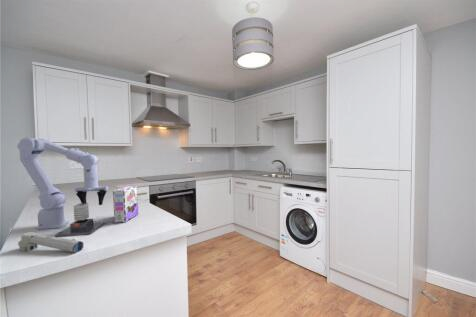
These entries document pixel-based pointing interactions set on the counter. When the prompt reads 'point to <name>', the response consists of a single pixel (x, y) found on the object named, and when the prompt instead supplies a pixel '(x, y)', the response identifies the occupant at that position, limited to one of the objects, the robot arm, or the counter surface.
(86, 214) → the column
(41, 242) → the grey elongated piece
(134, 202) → the candy box
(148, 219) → the counter surface
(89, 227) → the stand
